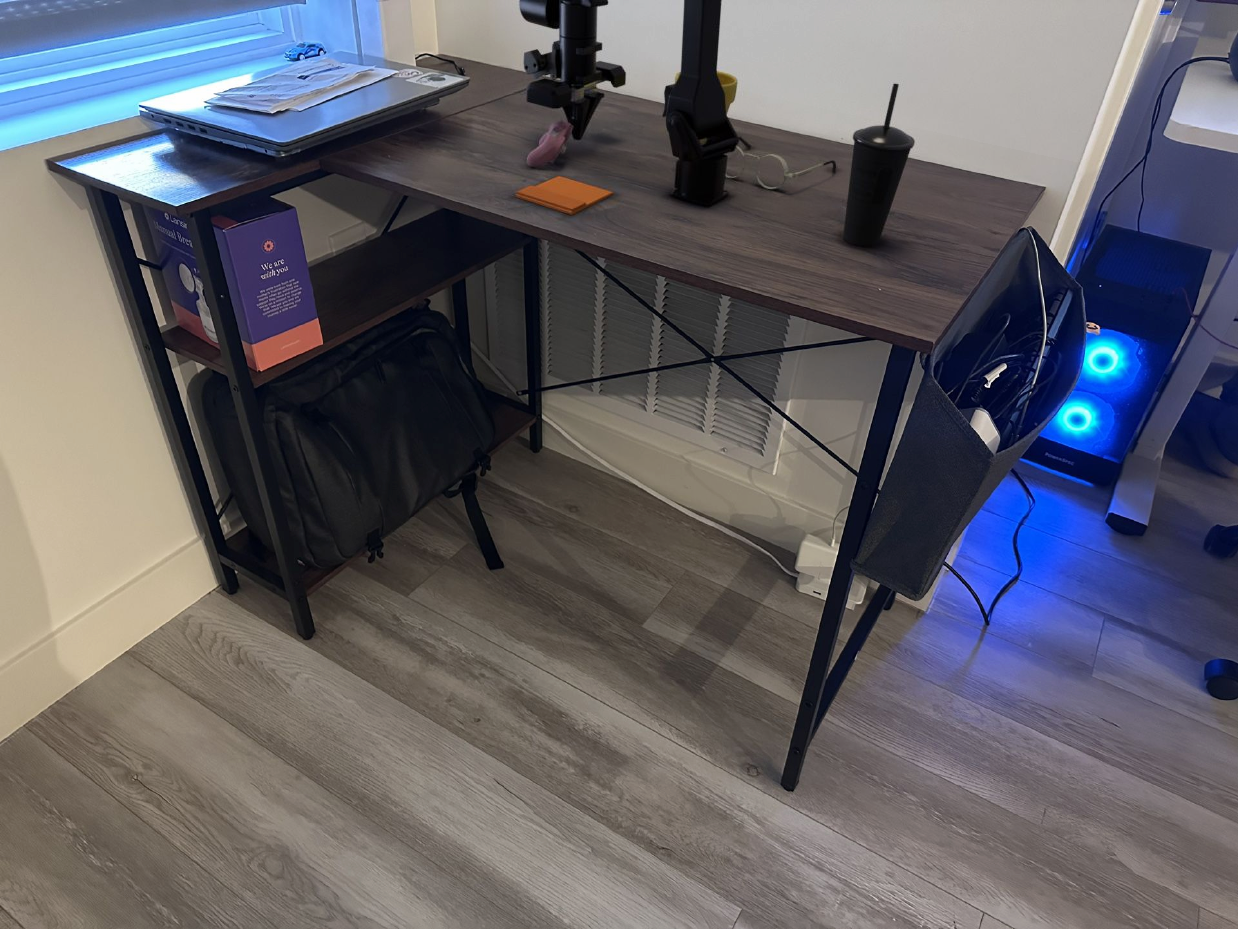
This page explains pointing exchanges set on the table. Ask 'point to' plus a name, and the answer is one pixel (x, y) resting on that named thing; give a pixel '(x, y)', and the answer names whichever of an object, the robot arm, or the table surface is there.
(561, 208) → the orange rag
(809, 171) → the round eyeglasses
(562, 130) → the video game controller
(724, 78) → the flower pot
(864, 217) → the drinking cup
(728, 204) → the table surface
